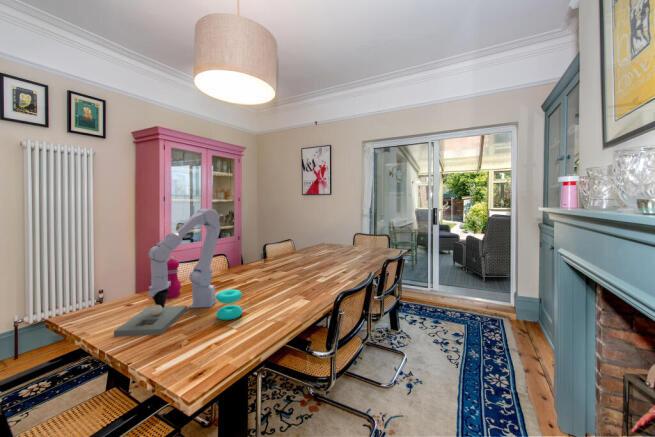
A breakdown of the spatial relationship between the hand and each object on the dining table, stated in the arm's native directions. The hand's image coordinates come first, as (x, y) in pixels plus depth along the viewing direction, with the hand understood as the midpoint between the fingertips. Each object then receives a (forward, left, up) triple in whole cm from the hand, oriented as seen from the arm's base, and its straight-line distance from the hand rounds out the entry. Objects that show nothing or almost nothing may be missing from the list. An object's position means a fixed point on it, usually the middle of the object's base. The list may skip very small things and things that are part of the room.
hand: (160, 308), depth 113 cm
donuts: (-28, +2, -4) cm, 28 cm away
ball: (0, +3, +1) cm, 3 cm away
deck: (0, +5, -3) cm, 6 cm away
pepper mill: (+6, -25, -4) cm, 26 cm away
